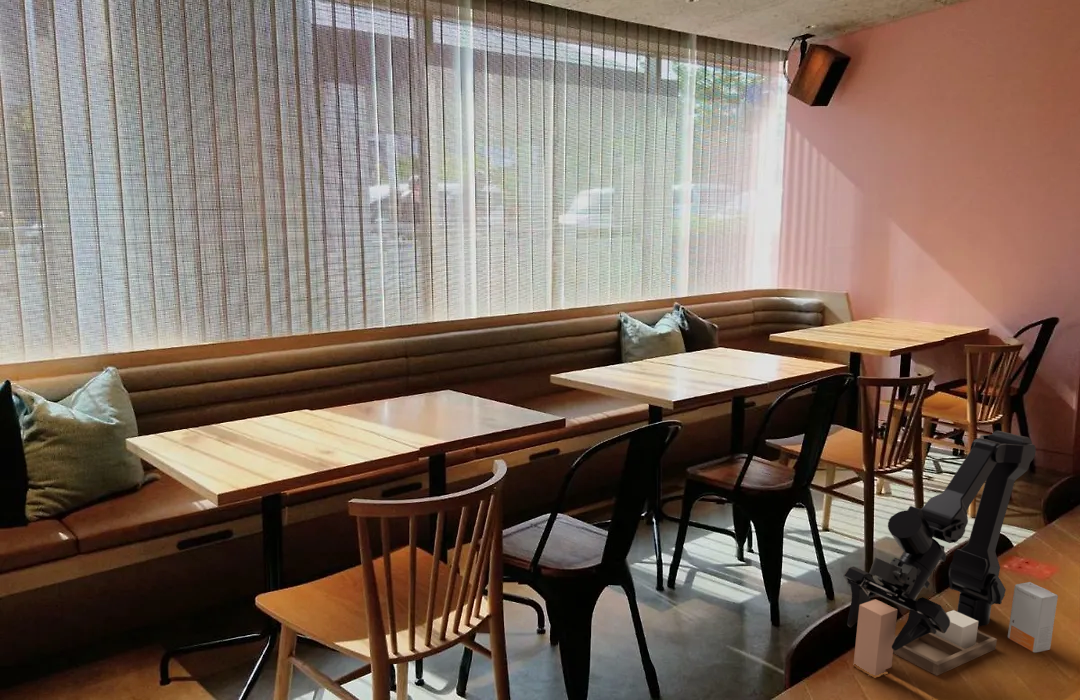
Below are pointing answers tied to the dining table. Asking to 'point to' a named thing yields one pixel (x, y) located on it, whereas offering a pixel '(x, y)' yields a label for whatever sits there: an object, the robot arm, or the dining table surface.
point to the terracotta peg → (875, 636)
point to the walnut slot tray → (943, 652)
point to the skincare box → (1032, 617)
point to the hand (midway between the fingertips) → (870, 637)
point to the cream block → (960, 630)
